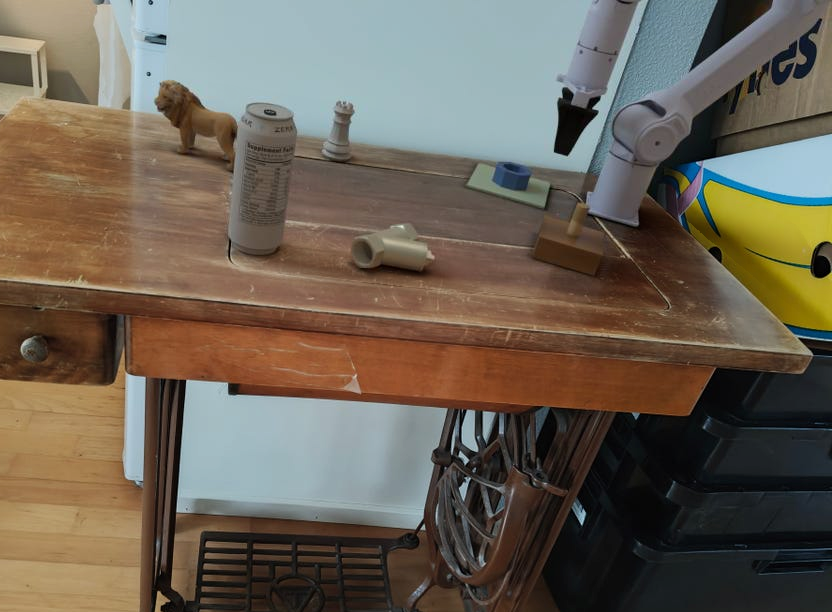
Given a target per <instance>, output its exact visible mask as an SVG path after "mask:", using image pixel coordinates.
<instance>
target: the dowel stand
mask: <svg viewBox="0 0 832 612" xmlns="http://www.w3.org/2000/svg"><path fill="white" fill-rule="evenodd" d="M589 208H590V206H588V205H587V204H586V203H584V202H577V203H576V206H575V209H574V211H573V214H572V216H571V219H570V222H569V221H565V220H562V219H559V218H555V217H551V216H548V215H544V216H543V218H542V221H541V223H540V226H539V230H538V232H537V235H536V240H535V244H534V247H533V252H532V256H531V258H533V259H536V260H539V261H542V262H545V263H548V264H551V265H552V264H553V265H555V266H559V267H563V268H566V269H569V270H571V271H572V270H573V271H575V272H579V273H583V274H586V275H589V276H592V277H593V276H595V275H596V272H597V270H598V268H599V266H600V263H601V261H602V258H603V257H604V232H603V231H601V230H598V229H597V230H596V229H593V228H590V227H587V226H584V223H585V221H586V218H587V217H588V211H589Z"/></svg>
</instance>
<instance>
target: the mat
mask: <svg viewBox="0 0 832 612" xmlns="http://www.w3.org/2000/svg"><path fill="white" fill-rule="evenodd" d="M495 169H496V166H491V165H488V164H485V163H481V162H478V163H477V165H476V167H475V169H474V171H473V172H472V174H471V177H470V178H469V180H468V182H467V183H466V185H465V186H466V188H468V189H472V190H476V191H479V192H483V193H486V194H488V195H489V194H490V195H493V196H496V197H500V198H503V199H507V200H511V201H514V202H517V203H521V204H525V205H528V206H532V207H535V208H539V209H542V210H544V209H545V207H546V203H547V198H548V194H549V191H550V186H551V182H549V181H546V180H541V179H539V178H535V177H531V176H530V179H529V182H528V185H527V188H526V190H515V191H514V190H511V189H507V188H503V187H500V186H499V185H497V184H496V183H495V182H493V181H492V179H493V176H494V172H495Z"/></svg>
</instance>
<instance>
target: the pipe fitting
mask: <svg viewBox="0 0 832 612" xmlns="http://www.w3.org/2000/svg"><path fill="white" fill-rule="evenodd" d="M419 240H420V236H419V234H418V232H417V230H416V228H415V227H414V226H413V225H412V223H409V222H408V223H407V222H406V223H397V224H393V225H390V226H389V228H386V229H383V230H380V231H377V232H374V233H371V234H362V235H359V236H356V237H354V238H353V240H352V244H351V247H350V255H351V258H352V259H353V261H354V263H355V264H356V265H357V266H358V267H359V268H360V269H372V268H376V267H378V266H380V265H384V266H390V267H393V268H400V269H405V270H411V271H416V272H423V270H424V268H425V267H429V265H430V264H434V262H435V255H434V254H432V250H429V248H428V243H426V242H422V241H419Z"/></svg>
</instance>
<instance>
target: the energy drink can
mask: <svg viewBox="0 0 832 612" xmlns="http://www.w3.org/2000/svg"><path fill="white" fill-rule="evenodd" d="M294 116H295V114H294V112H293V110H291V109H289V108H288V107H285V106H282V105H280V104H275V103H270V102H250V103H247V104H246V106H245V111H244V113H243V114H242V116H241V117H240V119H238V123H237V126H238V131H237V141H236V142H235V143H236V144H235V152H234V153H235V164H234V170H233V176H232V185H231V198H230V208H229V209H230V210H229V221H228V230H227V231H228V232H227V235H228V238H229V239H230V240H231V244H232V245H233V247H234V248H235V249H237V250H238V251H240V252H243V253H245V254H248V255H254V256H264V255H265V256H266V255H270V254H272V253H274V252H275V251H276V250H277V248H278V247H279V246H280V245H282V243H283V240H284V232H285V225H286V217H287V210H288V204H289V203H288V202H289V195H290V189H291V182H292V181H291V180H292V174H293V166H294V159H295V152H296V145H297V137H298V129H297V126H296V124H295V120H294Z"/></svg>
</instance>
